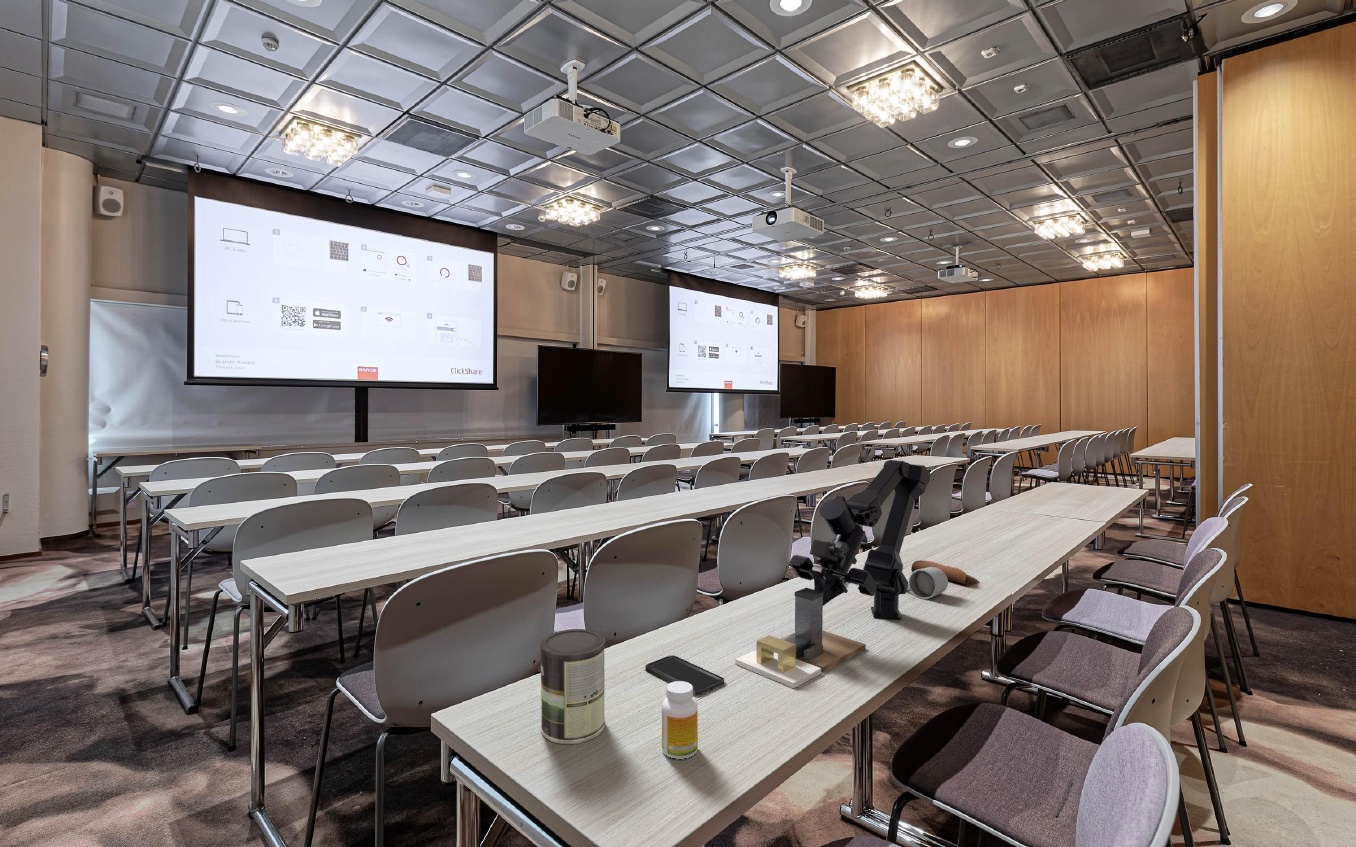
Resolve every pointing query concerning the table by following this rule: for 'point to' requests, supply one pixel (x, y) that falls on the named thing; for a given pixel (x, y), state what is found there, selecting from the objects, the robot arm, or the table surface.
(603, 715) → the coffee can
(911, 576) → the ceramic mug
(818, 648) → the guide rails
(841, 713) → the table surface
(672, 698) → the supplement bottle
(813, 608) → the dark square pillar
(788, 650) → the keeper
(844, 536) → the robot arm
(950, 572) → the orange brown tapered rod
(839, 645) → the door leaf
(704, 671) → the phone
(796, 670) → the jamb plate
